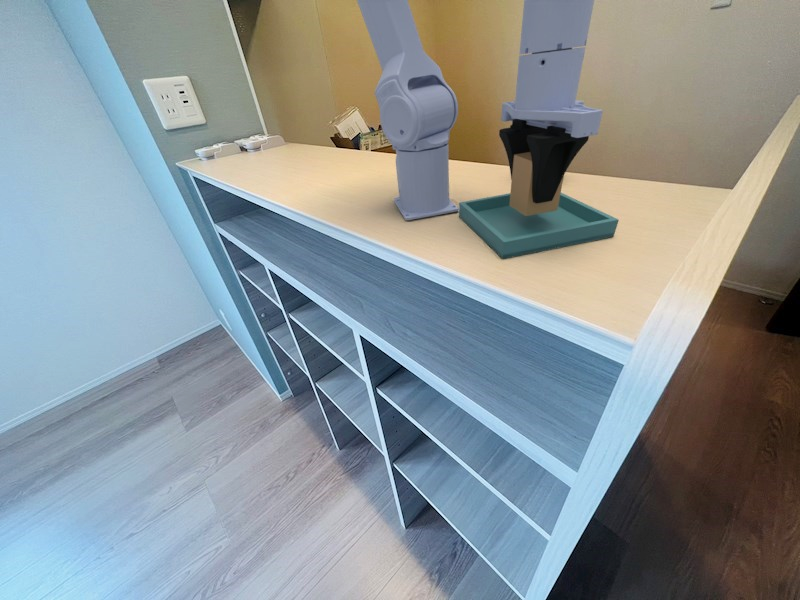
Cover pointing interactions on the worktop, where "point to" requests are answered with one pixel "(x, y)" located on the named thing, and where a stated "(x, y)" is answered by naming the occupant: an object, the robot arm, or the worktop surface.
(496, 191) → the worktop surface
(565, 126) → the robot arm
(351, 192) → the worktop surface
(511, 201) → the tan rectangular block
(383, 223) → the worktop surface
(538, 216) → the teal tray
